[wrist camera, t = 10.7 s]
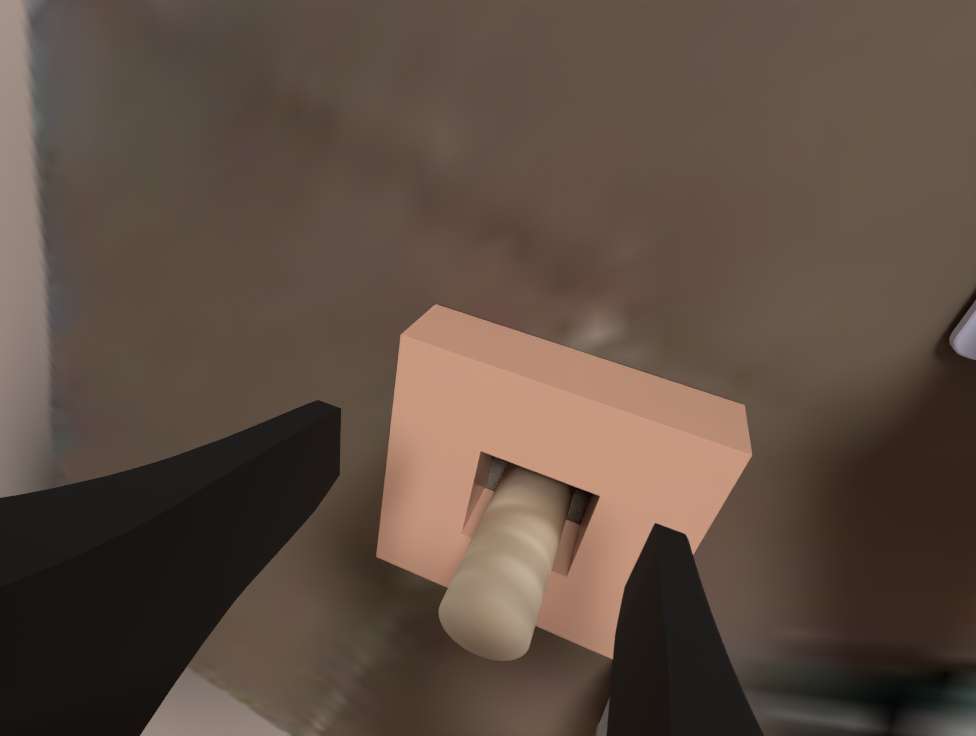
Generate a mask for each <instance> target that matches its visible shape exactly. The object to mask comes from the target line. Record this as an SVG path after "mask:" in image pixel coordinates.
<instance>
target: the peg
mask: <svg viewBox="0 0 976 736" xmlns="http://www.w3.org/2000/svg"><path fill="white" fill-rule="evenodd" d="M574 490H575V486H572V485H569V484H567V483H564V482H561V481H559V480H556V479H553V478H551V477H548V476H545V475H543V474H540V473H537V472H535V471H532V470H529V469H527V468H524V467H521V466H519V465H516V464H513V463H511V462H509V463H508V465H507V467H506V469H505V471H504V473H503V475H502V477H501V479H500V481H499V483H498V485H497V488H496V490H495V492H494V494H493V496H492V498H491V500H490V502H489V504H488V506H487V508H486V510H485V512H484V515H483V517H482V519H481V521H480V523H479V525H478V527H477V529H476V531H475V533H474V535H473V537H472V539H471V542H470V544H469V546H468V548H467V550H466V552H465V554H464V556H463V558H462V560H461V562H460V564H459V566H458V569H457V571H456V573H455V575H454V577H453V579H452V581H451V583H450V585H449V587H448V589H447V591H446V594H445V596H444V598H443V600H442V602H441V604H440V607H439V619H440V622H441V624H442V626H443V628H444V630H445V631H446V632H447V634H448V635H449V636H450V637H451V638H452V639H453V640H454V641H455V642H456V643H457V644H459V645H460V646H461V647H463V648H464V649H466V650H468V651H469V652H471V653H473V654H475V655H478V656H480V657H483V658H486V659H491V660H496V661H510V660H515V659H518V658H520V657H522V656H523V655H524V654H525V653H526V652H527V651H528V649H529V646H530V643H531V639H532V636H533V632H534V629H535V625H536V622H537V618H538V615H539V611H540V608H541V604H542V601H543V598H544V594H545V591H546V587H547V584H548V580H549V577H550V573H551V570H552V566H553V563H554V559H555V556H556V552H557V549H558V546H559V542H560V539H561V535H562V532H563V528H564V525H565V521H566V518H567V514H568V511H569V507H570V504H571V501H572V497H573V494H574Z"/></svg>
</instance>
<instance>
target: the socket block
mask: <svg viewBox="0 0 976 736" xmlns="http://www.w3.org/2000/svg"><path fill="white" fill-rule="evenodd" d="M493 456H495V457H498V458H500V459H503V460H505V461H508V462H511V463H513V464H516V465H519V466H521V467H524V468H527V469H529V470H532V471H535V472H537V473H540V474H543V475H545V476H548V477H551V478H553V479H556V480H559V481H561V482H564V483H567V484H569V485H572V486H575V487H577V488H580V489H582V490H585V491H588V492H590V493H593V494H592V496H591V499H590V501H589V504H588V506H587V509H586V511H585V514H584V516H583V519H582V521H581V524H580V525H579V524H576V523H574V522H571V521H569V520H566V521H565V525H564V528H563V532H562V535H561V539H560V542H559V546H558V549H557V552H556V556H555V559H554V563H553V566H552V570H551V573H550V577H549V580H548V584H547V587H546V591H545V594H544V598H543V601H542V604H541V608H540V611H539V615H538V618H537V622H536V625H535V626H537V627H539V628H541V629H544V630H546V631H548V632H551V633H553V634H555V635H558V636H560V637H562V638H565V639H567V640H569V641H571V642H574V643H576V644H578V645H581V646H583V647H585V648H588V649H590V650H592V651H595V652H597V653H599V654H601V655H604V656H606V657H608V658H611V659H613V652H614V641H615V632H616V627H617V622H618V617H619V612H620V607H621V602H622V597H623V592H624V587H625V585H626V583H627V581H628V578H629V576H630V574H631V572H632V570H633V568H634V566H635V564H636V562H637V559H638V557H639V555H640V553H641V551H642V549H643V547H644V545H645V543H646V540H647V538H648V536H649V534H650V532H651V530H652V528H653V526H654V524H655V523H657V524H660V525H662V526H665V527H668V528H671V529H673V530H676V531H679V532H682V533H684V534H686V536H687V538H688V540H689V543H690V546H691V550H692V554H694V553H695V551H696V549H697V547H698V546H699V544H700V542H701V541H702V539H703V537H704V536H705V534H706V532H707V531H708V529H709V527H710V526H711V524H712V522H713V520H714V519H715V517H716V515H717V514H718V512H719V510H720V509H721V507H722V505H723V504H724V502H725V500H726V499H727V497H728V495H729V493H730V492H731V490H732V488H733V487H734V485H735V483H736V482H737V480H738V478H739V477H740V475H741V473H742V472H743V470H744V468H745V466H746V465H747V463H748V461H749V460H750V458H751V456H752V450H751V444H750V437H749V431H748V424H747V418H746V411H745V405H743V404H740V403H736V402H733V401H730V400H727V399H724V398H721V397H718V396H715V395H712V394H709V393H706V392H703V391H700V390H697V389H694V388H691V387H687V386H684V385H681V384H678V383H675V382H672V381H669V380H666V379H663V378H660V377H657V376H654V375H651V374H648V373H645V372H642V371H639V370H635V369H632V368H629V367H626V366H623V365H620V364H617V363H614V362H611V361H608V360H605V359H602V358H599V357H596V356H593V355H590V354H587V353H583V352H580V351H577V350H574V349H571V348H568V347H565V346H562V345H559V344H556V343H553V342H550V341H547V340H544V339H541V338H538V337H535V336H531V335H528V334H525V333H522V332H519V331H516V330H513V329H510V328H507V327H504V326H501V325H498V324H495V323H492V322H489V321H486V320H482V319H479V318H476V317H473V316H470V315H467V314H464V313H461V312H458V311H455V310H452V309H449V308H446V307H443V306H440V305H437V304H435V305H434V306H433V307H432V308H431V309H430V310H428V311H427V312H426V313H425V314H424V315H423V316H422V317H420V318H419V319H418V320H417V321H416V322H415V323H414V324H412V325H411V326H410V327H409V328H408V329H407V330H406V331H404V332H403V333H402V334H401V338H400V347H399V356H398V365H397V374H396V383H395V392H394V401H393V410H392V419H391V428H390V437H389V446H388V455H387V464H386V473H385V482H384V491H383V500H382V509H381V518H380V527H379V536H378V545H377V554H376V557H378V558H380V559H382V560H385V561H387V562H389V563H392V564H394V565H396V566H398V567H401V568H403V569H405V570H408V571H410V572H412V573H415V574H417V575H419V576H422V577H424V578H426V579H428V580H431V581H433V582H435V583H438V584H440V585H442V586H445V587H447V588H448V587H449V585H450V583H451V581H452V579H453V577H454V575H455V573H456V571H457V569H458V566H459V564H460V562H461V560H462V558H463V556H464V554H465V552H466V550H467V548H468V546H469V544H470V542H471V539H472V537H473V535H474V533H475V531H476V529H477V527H478V525H479V523H480V521H481V519H482V517H483V515H484V512H485V510H486V508H487V506H488V504H489V502H490V500H491V498H492V496H493V494H494V491H492V490H489V489H487V488H485V485H486V481H487V477H488V473H489V469H490V465H491V461H492V457H493Z"/></svg>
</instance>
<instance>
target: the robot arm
mask: <svg viewBox="0 0 976 736" xmlns="http://www.w3.org/2000/svg"><path fill="white" fill-rule="evenodd" d="M949 342H950V345H951V347H952V348H953V349H954V350H955V351H956V352H957V354H959V355H961V356H963V357H966V358H970V359H973V360H976V300H975V302H974V303H973V305H972V306H971V307H970V309H969V310H968V311H967V313H966V314H965V315H964V317H963V318H962V319H961V321H960V322H959V324H958V325H957V326H956V328H955V329H954V330H953V332H952V333H951V336H950V338H949ZM340 429H341V408H338V407H335V406H333V405H330V404H327V403H324V402H322V401H319V400H317V401H314V402H312V403H309V404H306V405H304V406H301V407H299V408H296V409H294V410H292V411H289V412H287V413H284V414H282V415H280V416H277V417H275V418H272V419H270V420H268V421H265V422H263V423H260V424H258V425H256V426H253V427H251V428H248V429H246V430H243V431H241V432H238V433H236V434H233V435H231V436H228V437H226V438H223V439H221V440H218V441H215V442H212V443H210V444H207V445H204V446H201V447H199V448H196V449H193V450H190V451H188V452H185V453H182V454H179V455H177V456H173V457H170V458H167V459H164V460H161V461H158V462H155V463H152V464H148V465H145V466H141V467H138V468H134V469H131V470H127V471H124V472H120V473H116V474H113V475H109V476H105V477H100V478H96V479H92V480H87V481H83V482H79V483H74V484H70V485H66V486H61V487H57V488H52V489H48V490H43V491H38V492H32V493H27V494H21V495H16V496H10V497H3V498H0V736H140V734H141V733H142V731H143V730H144V728H145V727H146V725H147V724H148V722H149V721H150V720H151V718H152V717H153V715H154V714H155V712H156V710H157V709H158V708H159V706H160V705H161V703H162V702H163V700H164V699H165V697H166V696H167V694H168V692H169V691H170V690H171V688H172V687H173V685H174V684H175V682H176V681H177V680H178V678H179V677H180V675H181V674H182V672H183V671H184V670H185V668H186V667H187V665H188V664H189V663H190V661H191V660H192V658H193V657H194V655H195V654H196V653H197V651H198V650H199V648H200V647H201V646H202V644H203V643H204V641H205V640H206V639H207V637H208V636H209V635H210V633H211V632H212V631H213V629H214V628H215V627H216V625H217V624H218V623H219V621H220V620H221V619H222V617H223V616H224V615H225V613H226V612H227V610H228V609H229V608H230V606H231V605H232V604H233V603H234V601H235V600H236V599H237V598H238V597H239V595H240V594H241V593H242V592H243V591H244V589H245V588H246V587H247V586H248V585H249V584H250V583H251V582H252V580H253V579H254V578H255V577H256V576H257V575H258V574H259V573H260V572H261V570H262V569H263V568H264V567H265V566H266V565H267V564H268V563H269V562H270V560H271V559H272V558H273V557H274V556H275V555H276V554H277V553H278V552H279V550H280V549H281V548H282V547H283V546H284V545H285V544H286V543H287V542H288V541H289V539H290V538H291V537H292V536H293V535H294V534H295V533H296V532H297V530H298V529H299V528H300V527H301V526H302V525H303V524H304V523H305V521H306V520H307V519H308V518H309V517H310V516H311V515H312V513H313V512H314V511H315V510H316V508H317V507H318V506H319V504H320V503H321V501H322V500H323V498H324V497H325V496H326V494H327V493H328V491H329V490H330V488H331V487H332V485H333V484H334V482H335V481H336V479H337V478H338V476H339V475H340ZM607 736H764V734H763V732H762V730H761V728H760V726H759V724H758V722H757V720H756V718H755V716H754V714H753V712H752V710H751V707H750V705H749V703H748V701H747V699H746V697H745V694H744V692H743V690H742V687H741V685H740V683H739V681H738V678H737V676H736V674H735V671H734V669H733V667H732V664H731V662H730V659H729V657H728V654H727V652H726V650H725V647H724V644H723V642H722V639H721V636H720V634H719V631H718V629H717V626H716V623H715V621H714V618H713V615H712V613H711V610H710V607H709V604H708V601H707V598H706V595H705V592H704V589H703V586H702V583H701V580H700V577H699V574H698V570H697V567H696V564H695V561H694V557H693V554H692V550H691V546H690V543H689V540H688V538H687V536H686V534H684V533H682V532H679V531H676V530H673V529H671V528H668V527H665V526H662V525H660V524H657V523H655V524H654V526H653V528H652V530H651V532H650V534H649V536H648V538H647V540H646V543H645V545H644V547H643V549H642V551H641V553H640V555H639V557H638V559H637V562H636V564H635V566H634V568H633V570H632V572H631V574H630V576H629V578H628V581H627V583H626V585H625V587H624V592H623V597H622V602H621V607H620V612H619V617H618V622H617V627H616V632H615V641H614V652H613V663H612V675H611V687H610V699H609V711H608V723H607Z"/></svg>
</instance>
